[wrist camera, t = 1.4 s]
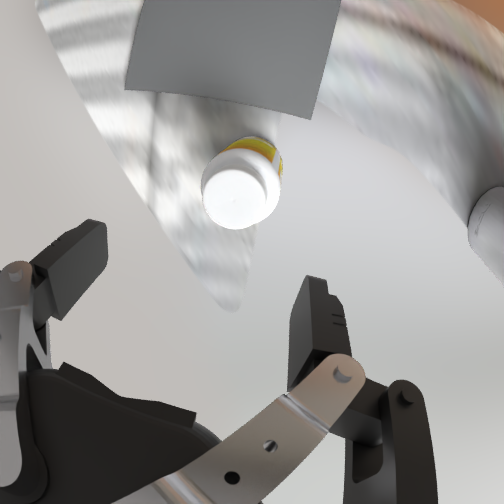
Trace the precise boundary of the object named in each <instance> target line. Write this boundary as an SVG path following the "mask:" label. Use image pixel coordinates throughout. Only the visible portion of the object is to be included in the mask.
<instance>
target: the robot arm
mask: <svg viewBox="0 0 504 504" xmlns="http://www.w3.org/2000/svg"><path fill="white" fill-rule="evenodd" d="M468 240H469V243H470V246H471V248H472V249H473V251H474V252H475V253H476V254H477V255H478V257H479V258H480V259H481V260H482V261H483V262H484V263H485V265H486V266H487V267H488V268H489V269H490V271H491V272H492V273H493V274H494V275H495V277H496V278H497V279H498V280H499V282H500V283H501V284H502V285H503V286H504V187H495V188H492V189H490V190H489V191H487V192H486V193H485V194H484V195H483V196H482V197H481V198H480V199H479V200H478V202H477V203H476V205H475V207H474V209H473V211H472V214H471V216H470V220H469V225H468ZM107 261H108V244H107V227H106V224H105V223H103V222H99V221H95V220H92V219H87V220H86V221H84V222H83V223H82V224H81V225H79V226H78V227H77V228H74V229H72V230H69V231H67V232H65V233H64V234H63V235H61V236H60V237H59V238H58V239H57V240H55V241H54V242H52V243H51V245H49V246H48V247H47V248H45V249H44V250H43V251H42V252H40V253H39V254H38V255H37V256H36V257H35V258H34V259H32V260H31V261H30V262H29V263H28V262H26V261H15V262H12V263H10V264H8V265H7V266H5V267H4V268H3V270H2V271H0V504H263V503H262V501H261V500H262V499H264V498H265V497H266V496H267V495H268V494H269V493H270V492H272V491H273V490H274V489H275V488H276V487H277V486H278V485H279V484H280V483H281V482H282V481H283V480H284V479H285V478H286V477H287V476H289V474H291V473H292V472H293V470H295V468H297V466H298V465H299V464H300V463H301V462H302V461H303V460H304V459H305V458H306V457H307V456H308V455H309V454H310V453H311V452H312V451H313V450H314V448H315V447H316V446H317V445H318V444H319V443H320V442H321V440H322V439H323V438H324V437H325V436H326V435H327V433H328V432H330V433H333V434H335V435H338V436H340V437H343V438H345V478H344V495H343V496H344V497H343V504H438V492H437V480H436V470H435V462H434V455H433V447H432V440H431V435H430V428H429V422H428V417H427V412H426V407H425V402H424V398H423V395H422V393H421V391H420V390H419V389H418V387H417V386H415V385H414V384H413V383H411V382H409V381H407V380H396V381H394V382H393V383H392V384H391V385H390V386H389V387H387V386H384V385H382V384H379V383H377V382H374V381H372V380H370V379H368V378H366V376H365V372H364V369H363V367H362V366H361V365H360V363H359V362H358V361H356V360H355V359H354V358H352V353H351V347H350V341H349V336H348V330H347V327H346V319H345V314H344V310H343V305H342V304H341V302H340V301H339V299H338V298H337V297H336V296H334V295H330V294H329V293H328V286H327V281H326V280H325V279H321V278H317V277H313V276H309V275H307V276H306V277H305V279H304V281H303V283H302V286H301V288H300V291H299V293H298V296H297V298H296V301H295V304H294V305H293V309H292V312H291V317H290V330H289V359H288V383H287V392H290V393H288V394H287V395H285V394H283V395H281V396H280V397H278V398H277V399H276V400H274V401H273V402H272V403H271V404H270V405H268V406H267V407H266V408H265V409H264V410H262V411H261V412H260V413H259V414H257V415H256V416H255V417H254V418H252V419H251V420H250V421H248V422H247V423H246V424H245V425H244V426H242V427H241V428H239V429H238V430H237V431H235V432H234V433H233V434H232V435H230V436H229V437H227V438H226V439H225V440H223V441H221V440H220V439H219V438H218V437H217V436H216V435H215V434H213V433H212V432H211V431H210V430H208V429H207V428H205V427H204V426H202V425H200V424H198V423H197V422H195V419H196V412H192V411H189V410H185V409H182V408H179V407H175V406H172V405H169V404H166V403H162V402H159V401H148V400H141V399H133V398H126V397H121V396H119V395H117V394H115V393H114V392H113V391H111V390H110V389H109V388H108V387H106V386H105V385H104V384H102V383H101V382H100V381H98V380H97V379H96V378H94V377H93V376H92V375H90V374H88V373H86V372H84V371H81V370H80V369H77V368H75V367H73V366H71V365H69V364H67V363H65V362H63V364H62V365H61V367H60V368H59V370H57V369H53V368H52V364H51V353H50V334H49V323H48V319H49V318H50V316H52V317H54V318H56V319H58V320H60V321H61V320H62V319H63V318H64V317H65V315H66V314H67V313H68V312H69V310H70V309H71V308H72V307H73V306H74V304H75V303H76V302H77V301H78V299H79V298H80V297H81V296H82V294H83V293H84V292H85V291H86V290H87V289H88V288H89V286H90V285H91V284H92V283H93V282H94V281H95V279H96V278H97V277H98V276H99V275H100V274H101V273H102V271H103V270H104V269H105V267H106V265H107Z"/></svg>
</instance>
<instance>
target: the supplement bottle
mask: <svg viewBox="0 0 504 504" xmlns="http://www.w3.org/2000/svg"><path fill="white" fill-rule="evenodd" d="M282 169H283V164H282V159H281V156H280V153H279V151H278V150H277V148H276V147H275V146H274V145H273V144H272V143H270V142H269V141H267V140H265V139H263V138H260V137H255V136H250V137H244V138H241V139H238V140H237V141H235V142H233V143H232V144H231V145H229V146H228V147H227V148H226V149H224V150H223V151H222V152H220V153H219V154H218V155H217V156H215V157H214V158H213V159H212V160H211V161H210V162H209V164H208V165H207V167H206V168H205V170H204V172H203V175H202V179H201V193H202V201H203V205H204V208H205V211H206V213H207V214H208V216H209V217H210V218H211V219H212V220H213V221H214V222H215V223H217V224H218V225H220V226H222V227H225V228H229V229H242V228H246V227H248V226H251V225H252V224H254V223H257V222H259V221H261V220H263V219H264V218H266V217H267V216H268V215H269V214H270V213H271V212H272V211H273V210H274V208H275V207H276V204H277V202H278V200H279V196H280V191H281V181H282Z"/></svg>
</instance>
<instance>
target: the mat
mask: <svg viewBox="0 0 504 504" xmlns="http://www.w3.org/2000/svg"><path fill="white" fill-rule="evenodd" d="M340 3H341V0H145V1H144V4H143V8H142V11H141V15H140V18H139V22H138V26H137V30H136V34H135V38H134V43H133V47H132V52H131V56H130V61H129V67H128V72H127V78H126V83H125V90H139V91H154V92H165V93H175V94H184V95H192V96H200V97H206V98H213V99H219V100H225V101H231V102H236V103H241V104H246V105H251V106H256V107H261V108H265V109H270V110H274V111H278V112H282V113H286V114H290V115H294V116H298V117H301V118H305V119H309V120H311V117H312V114H313V110H314V106H315V102H316V99H317V95H318V91H319V87H320V83H321V80H322V76H323V72H324V68H325V64H326V60H327V56H328V52H329V48H330V44H331V40H332V36H333V32H334V28H335V24H336V20H337V16H338V12H339V7H340Z"/></svg>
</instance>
